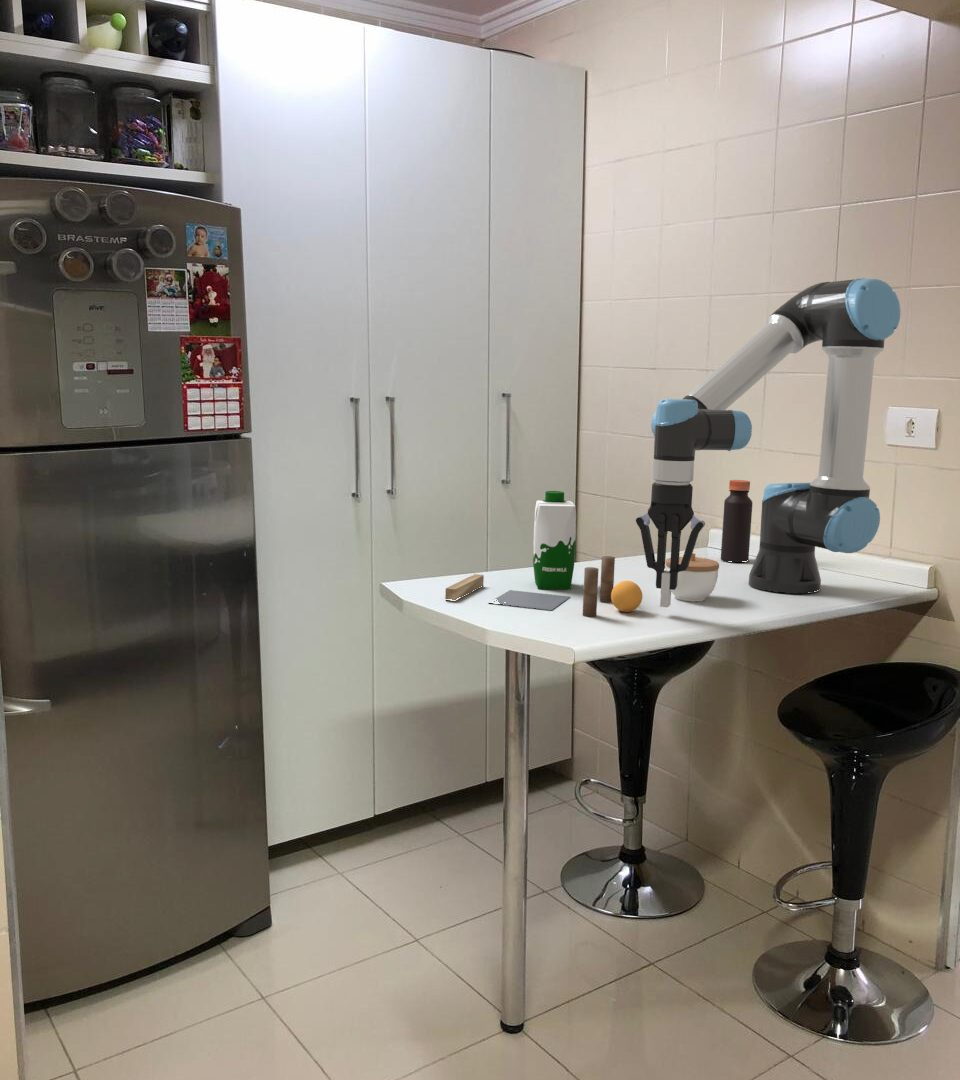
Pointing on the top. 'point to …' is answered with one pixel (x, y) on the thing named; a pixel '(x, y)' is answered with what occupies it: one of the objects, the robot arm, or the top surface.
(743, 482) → the bottle
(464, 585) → the rail
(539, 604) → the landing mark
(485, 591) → the top surface
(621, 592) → the ball
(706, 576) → the lidded jar
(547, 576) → the milk carton
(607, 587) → the post
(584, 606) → the post
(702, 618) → the top surface
